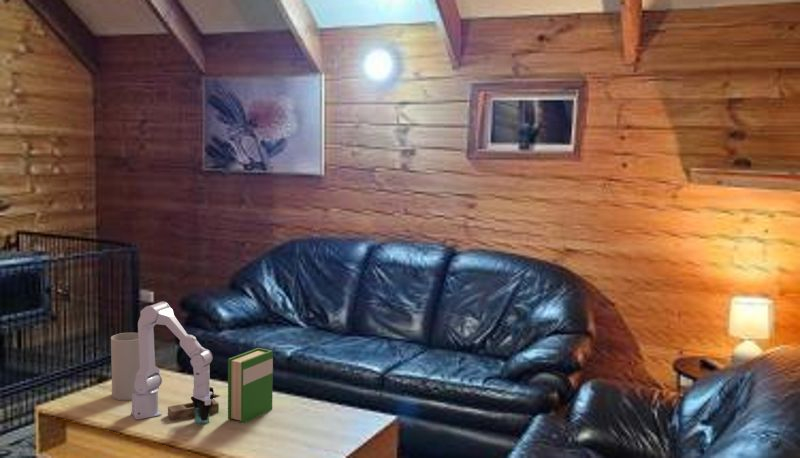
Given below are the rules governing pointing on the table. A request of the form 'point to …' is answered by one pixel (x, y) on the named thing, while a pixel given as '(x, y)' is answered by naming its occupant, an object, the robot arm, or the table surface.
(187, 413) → the slotted beam
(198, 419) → the teal rectangular block
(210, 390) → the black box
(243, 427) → the table surface
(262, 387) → the hardback book
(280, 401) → the table surface
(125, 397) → the cylinder vase
